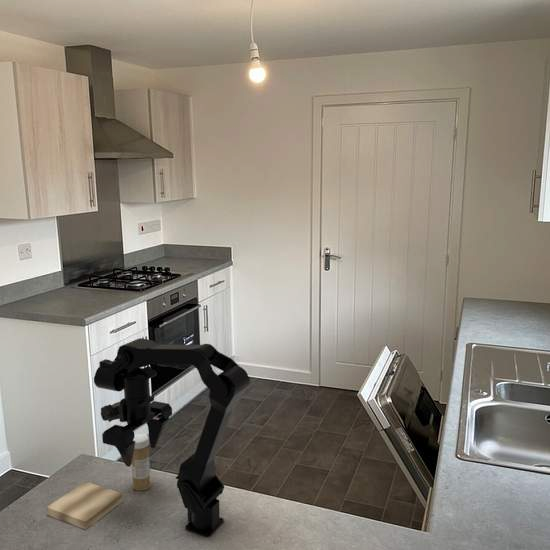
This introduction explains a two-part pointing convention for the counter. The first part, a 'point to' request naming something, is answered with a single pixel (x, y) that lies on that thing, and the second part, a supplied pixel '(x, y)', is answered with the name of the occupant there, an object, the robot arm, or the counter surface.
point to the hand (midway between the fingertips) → (141, 456)
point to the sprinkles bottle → (141, 463)
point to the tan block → (85, 505)
